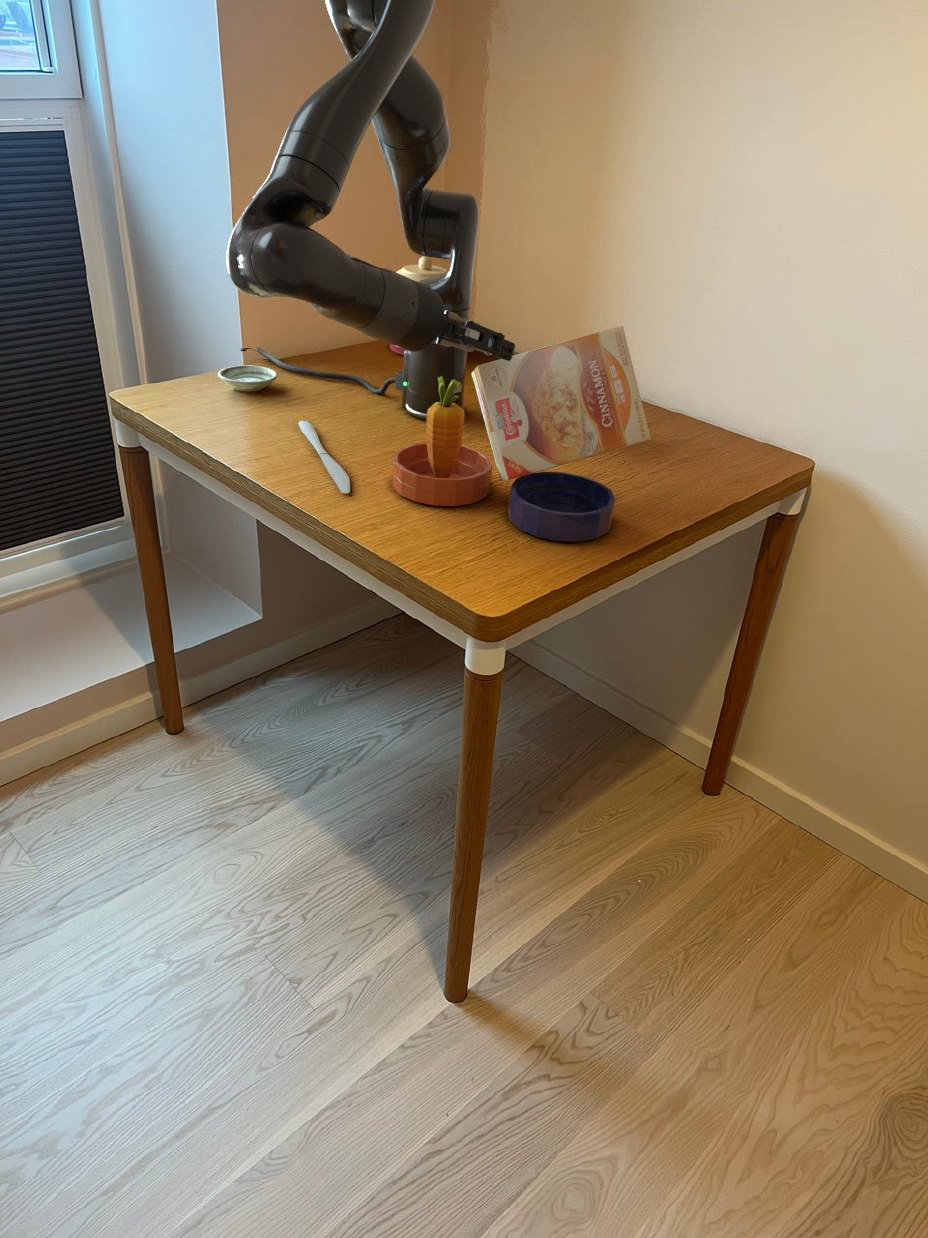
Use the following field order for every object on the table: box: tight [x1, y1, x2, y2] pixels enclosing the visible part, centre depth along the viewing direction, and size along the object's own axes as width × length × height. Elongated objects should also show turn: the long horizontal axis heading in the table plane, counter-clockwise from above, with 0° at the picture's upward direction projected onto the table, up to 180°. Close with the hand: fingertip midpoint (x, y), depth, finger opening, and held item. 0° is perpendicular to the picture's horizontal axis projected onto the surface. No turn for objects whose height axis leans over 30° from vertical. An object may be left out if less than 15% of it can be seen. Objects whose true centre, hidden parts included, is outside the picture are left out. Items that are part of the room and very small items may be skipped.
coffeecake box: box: [471, 325, 652, 482], centre depth 119 cm, size 15×7×20 cm
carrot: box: [425, 376, 466, 478], centre depth 121 cm, size 5×5×15 cm
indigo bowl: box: [507, 471, 616, 543], centre depth 118 cm, size 13×13×4 cm
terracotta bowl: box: [392, 441, 493, 507], centre depth 124 cm, size 13×13×4 cm
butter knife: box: [297, 420, 351, 495], centre depth 131 cm, size 1×27×3 cm
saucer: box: [217, 364, 278, 392], centre depth 154 cm, size 10×10×2 cm
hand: (487, 346), depth 116 cm, fingers open, 8 cm apart
